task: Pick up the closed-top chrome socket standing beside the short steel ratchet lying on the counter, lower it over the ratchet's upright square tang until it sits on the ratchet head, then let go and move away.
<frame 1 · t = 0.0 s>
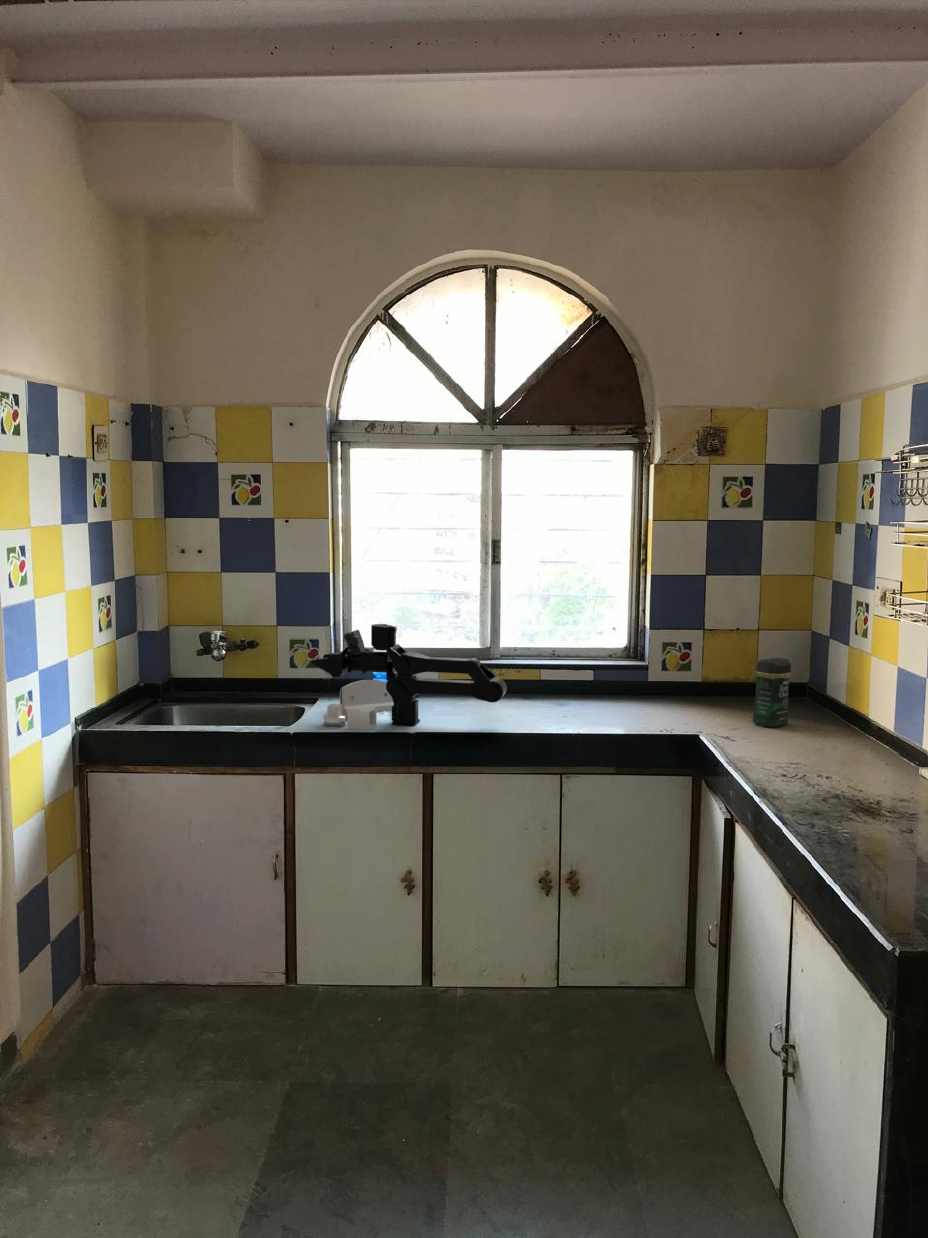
hand: (317, 659, 268), 17 cm above the countertop, tool horizontal, fingers open, 9 cm apart
socket: (361, 727, 259), on the countertop
coffee jar: (770, 725, 268), on the countertop
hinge: (367, 711, 281), on the countertop
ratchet: (334, 725, 262), on the countertop
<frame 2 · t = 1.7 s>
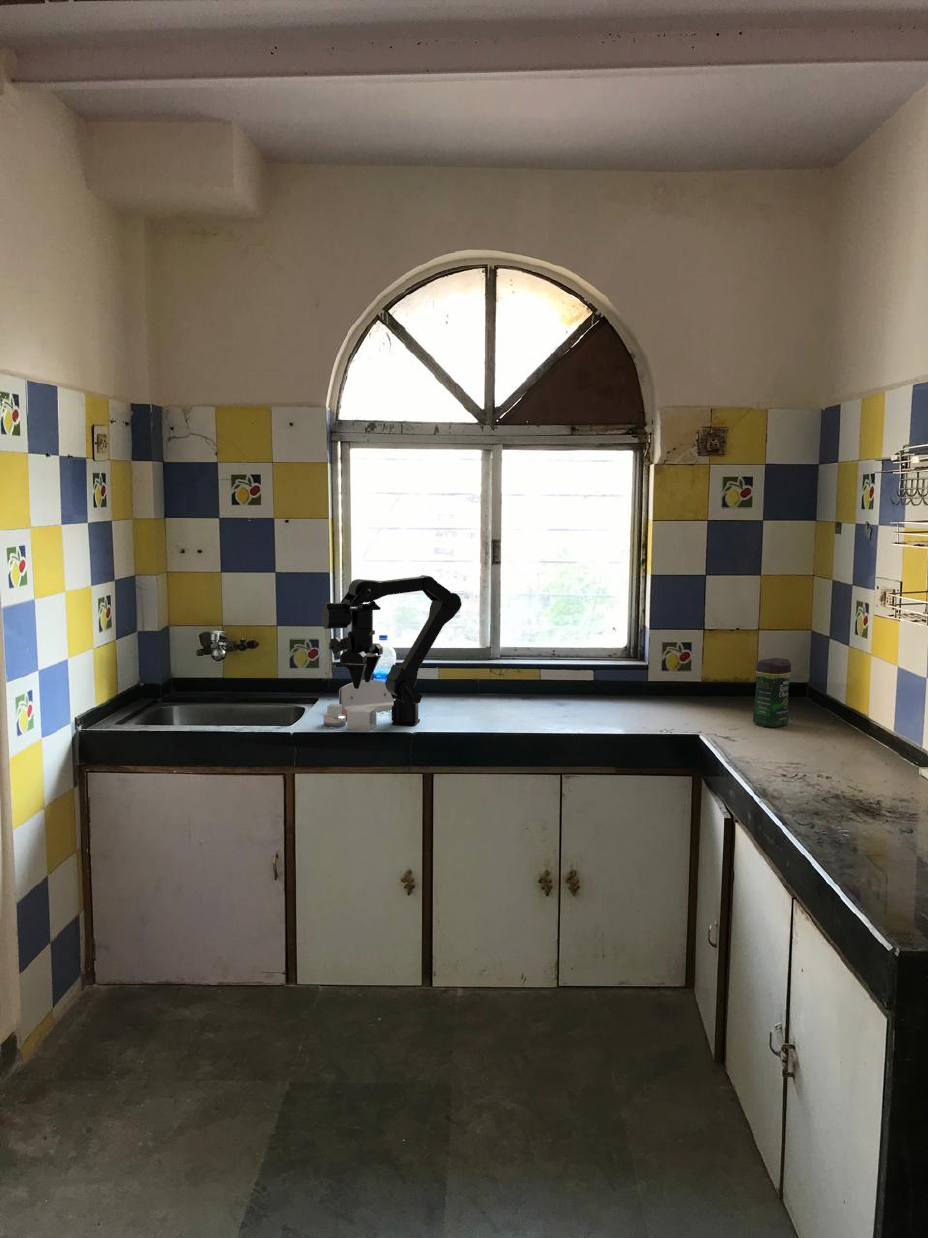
hand: (361, 685, 258), 11 cm above the countertop, tool pointing down, fingers open, 9 cm apart
nothing on the countertop moved.
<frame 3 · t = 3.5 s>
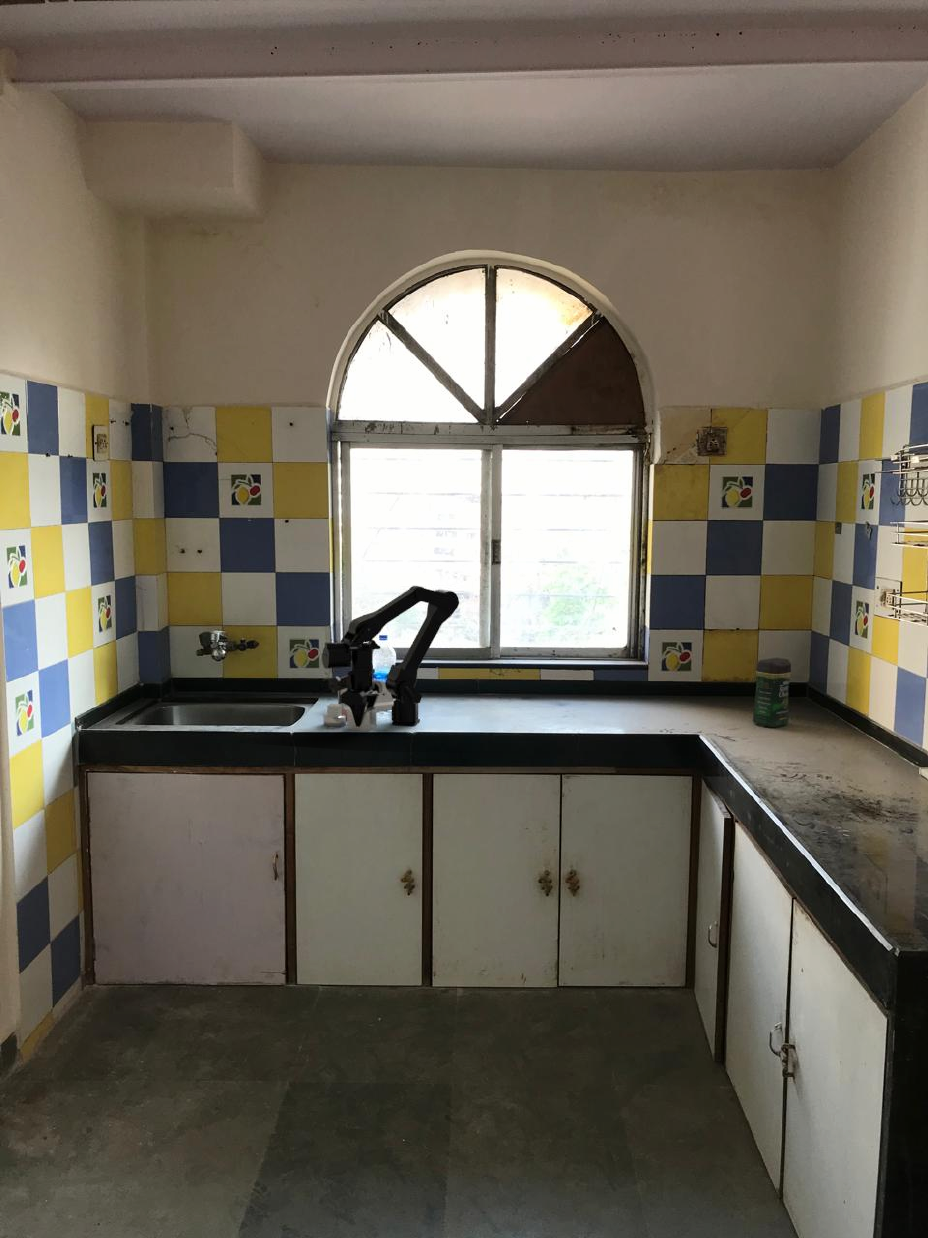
hand: (361, 723, 259), 1 cm above the countertop, tool pointing down, fingers closed on socket, 6 cm apart
socket: (361, 727, 259), on the countertop, touching gripper
everything else where it was.
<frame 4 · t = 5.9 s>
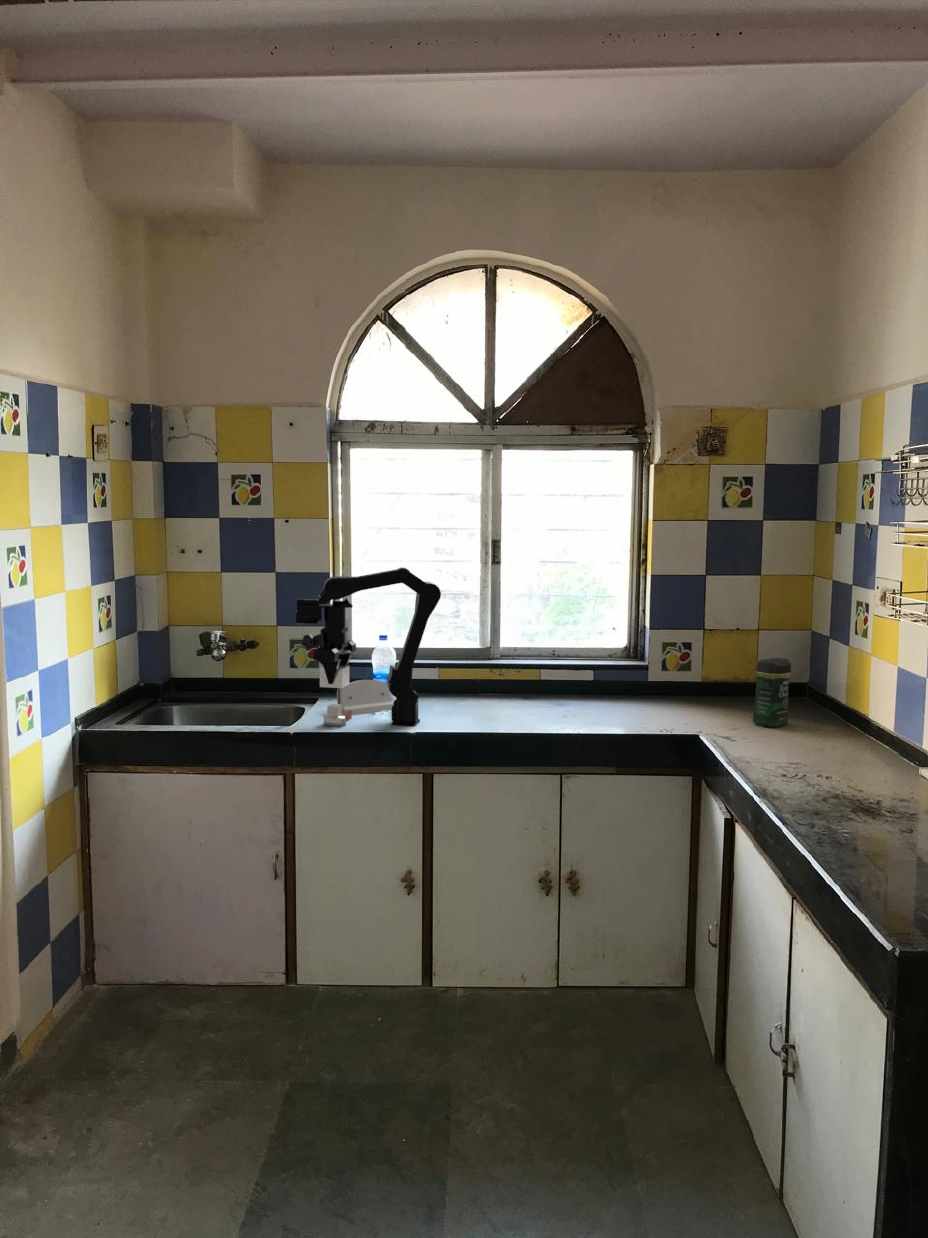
hand: (334, 681, 260), 12 cm above the countertop, tool pointing down, fingers closed on socket, 6 cm apart
socket: (334, 685, 260), point 11 cm above the countertop, touching gripper
everything else where it was.
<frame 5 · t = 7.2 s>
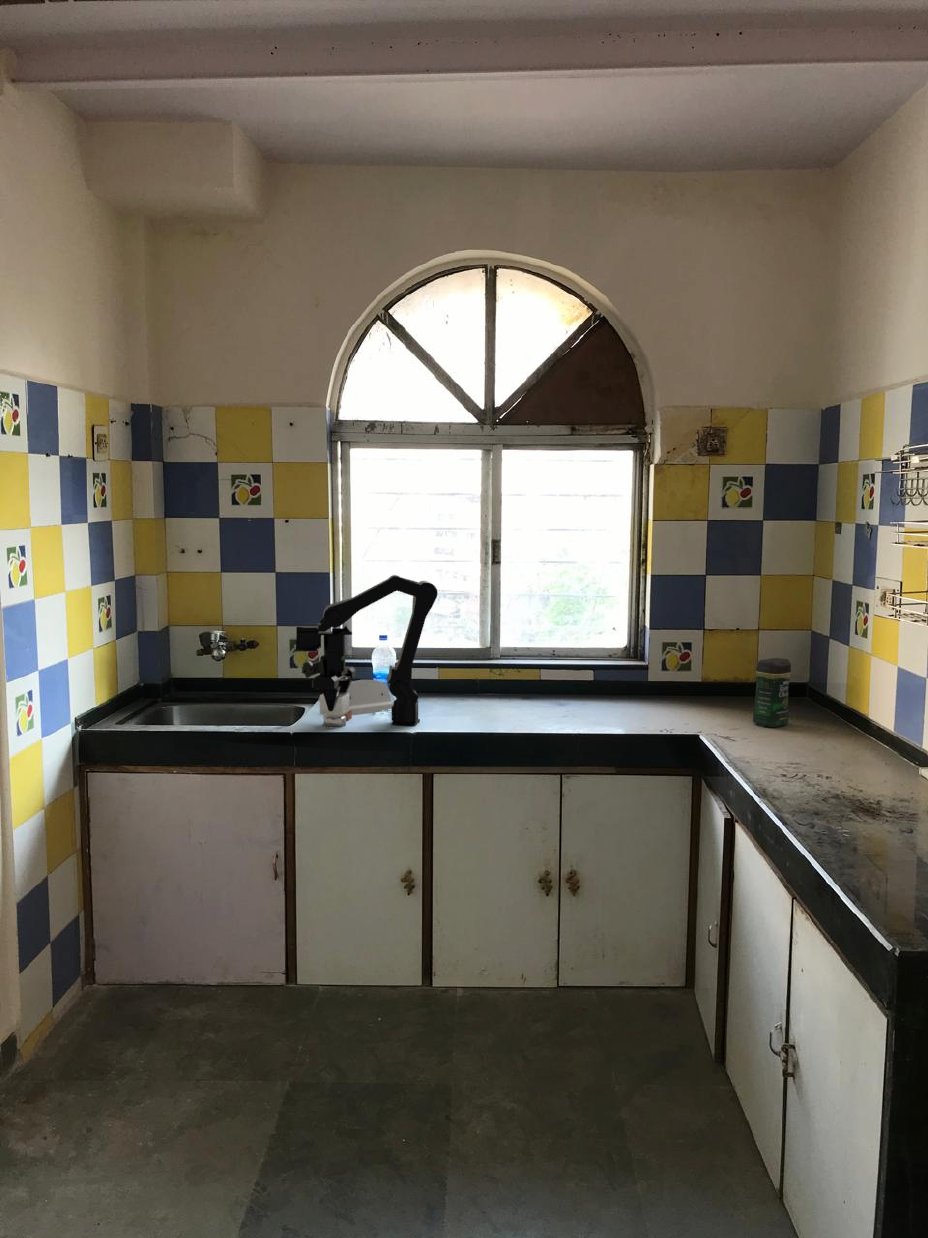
hand: (334, 708, 261), 5 cm above the countertop, tool pointing down, fingers closed on socket, 6 cm apart
socket: (334, 712, 261), point 4 cm above the countertop, touching gripper
when the fingers open (5 cm above the countertop, at t = 8.2 s): socket drops 1 cm, resting on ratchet.
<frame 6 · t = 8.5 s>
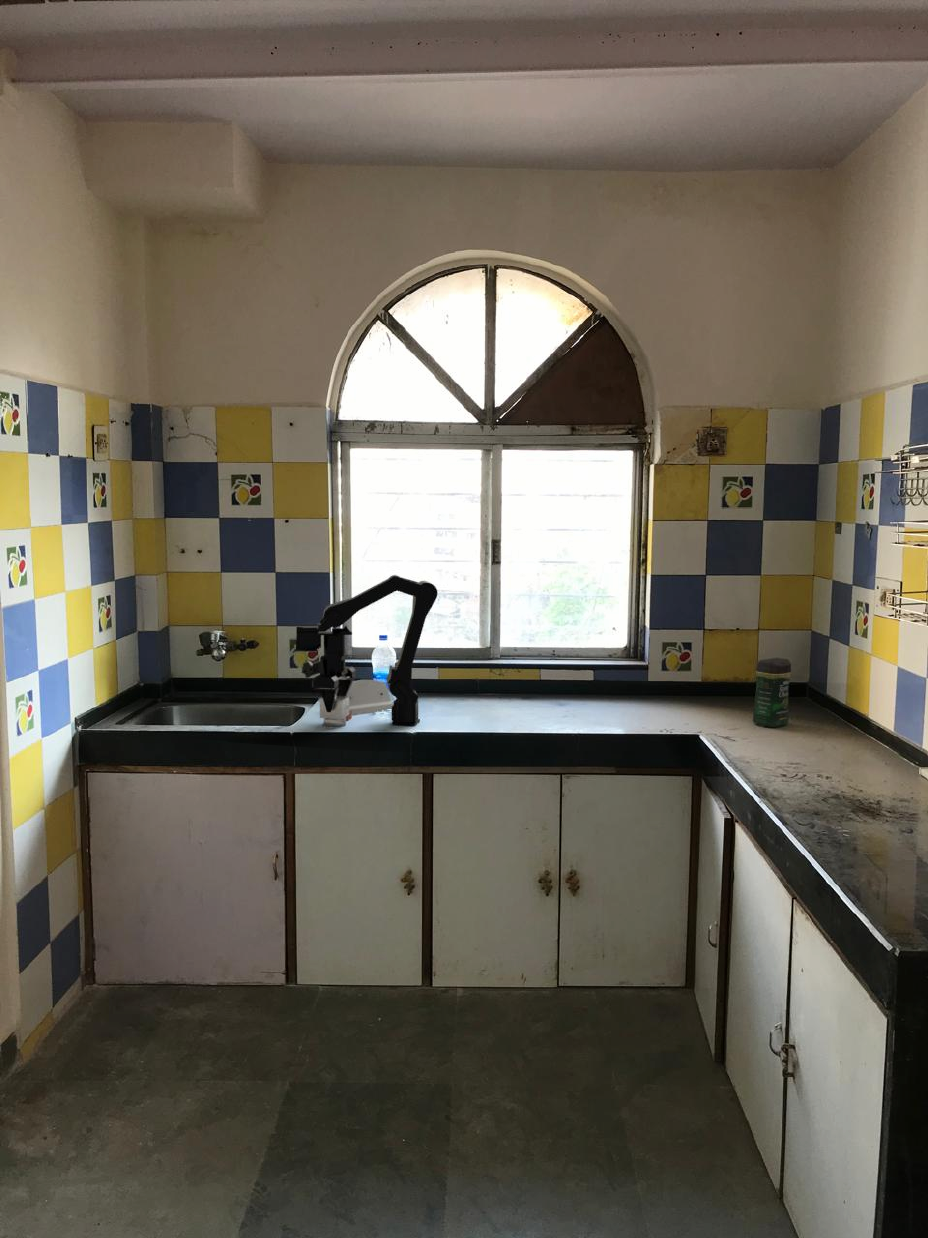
hand: (334, 708, 261), 5 cm above the countertop, tool pointing down, fingers open, 9 cm apart
socket: (334, 716, 261), point 2 cm above the countertop, touching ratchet
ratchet: (334, 725, 262), on the countertop, touching socket
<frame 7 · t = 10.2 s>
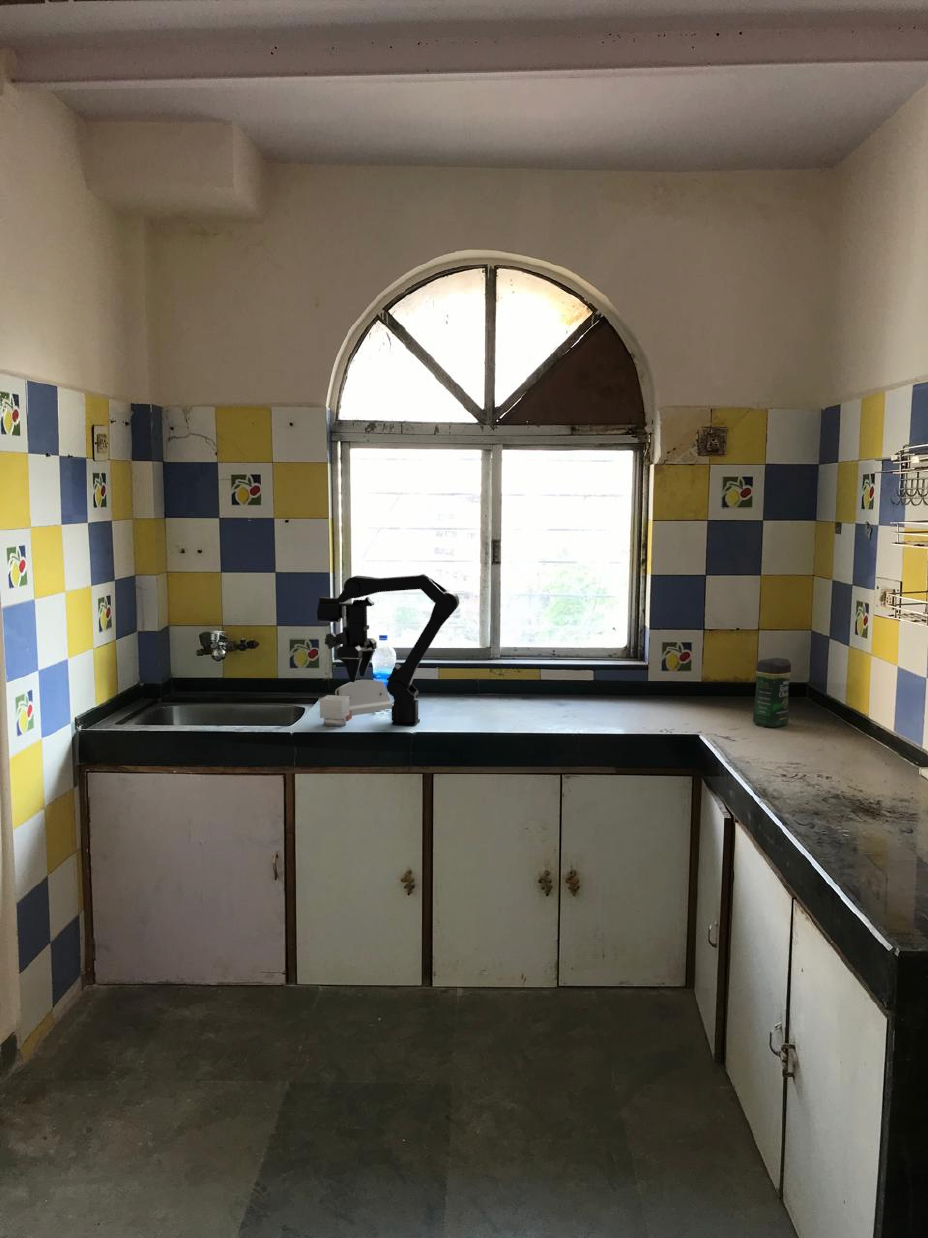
hand: (357, 679, 264), 12 cm above the countertop, tool pointing down, fingers open, 9 cm apart
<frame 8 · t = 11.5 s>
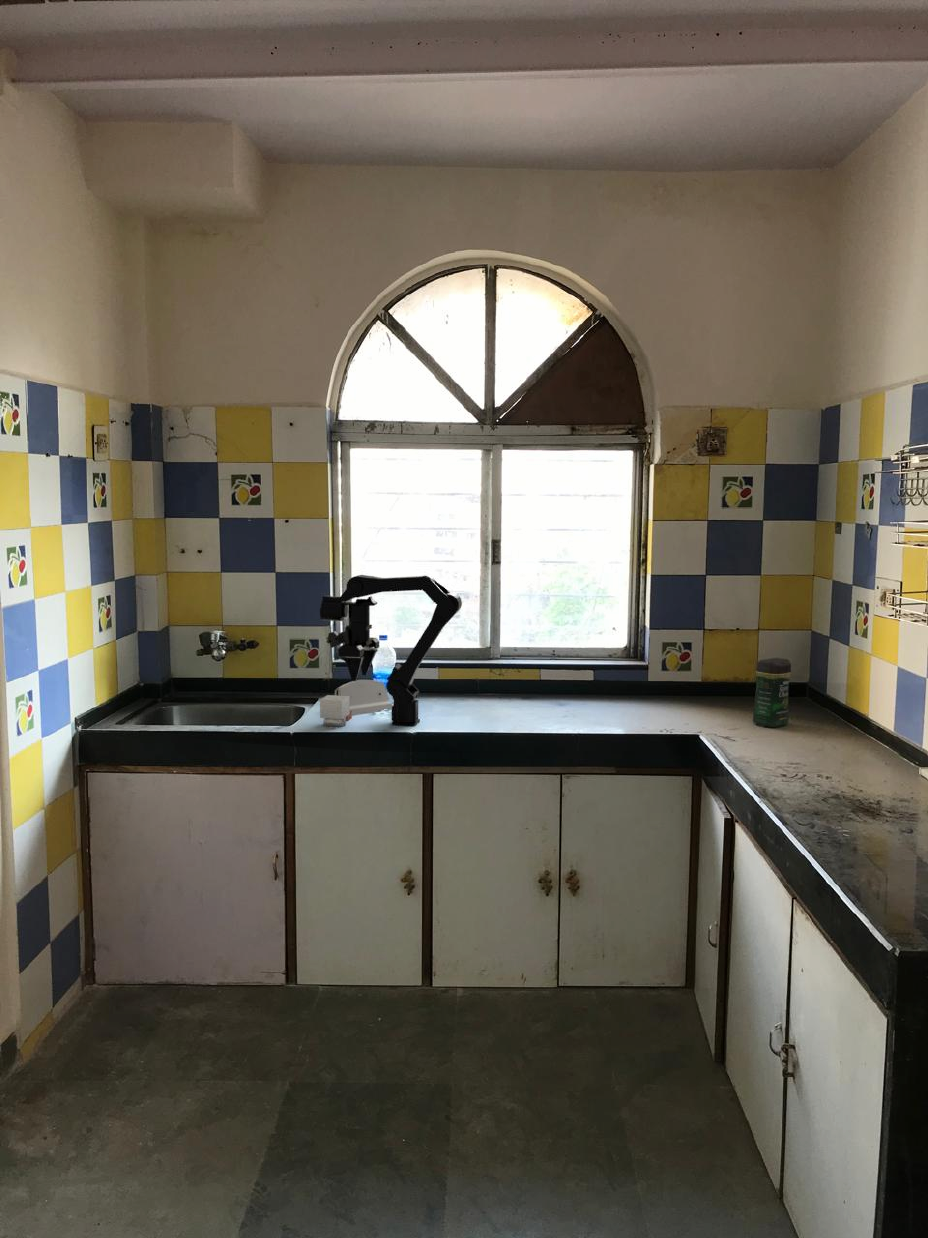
hand: (359, 678, 265), 12 cm above the countertop, tool pointing down, fingers open, 9 cm apart
at the end: socket 0.1 cm off-centre on the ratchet, point 2.5 cm above the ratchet's base; the gripper is holding nothing; socket tilted 0° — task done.
